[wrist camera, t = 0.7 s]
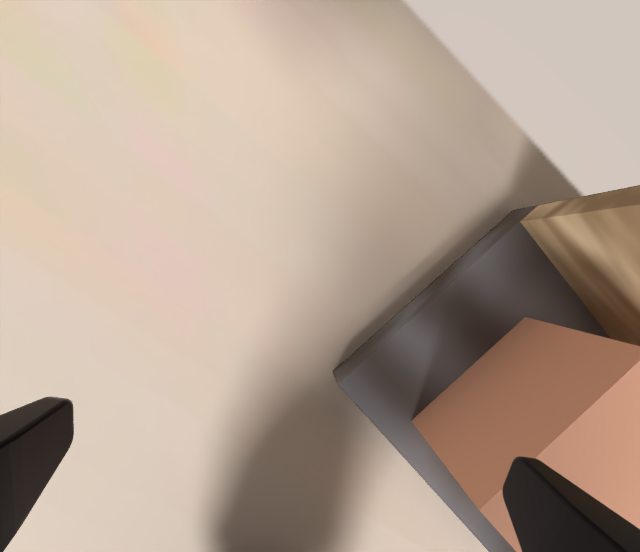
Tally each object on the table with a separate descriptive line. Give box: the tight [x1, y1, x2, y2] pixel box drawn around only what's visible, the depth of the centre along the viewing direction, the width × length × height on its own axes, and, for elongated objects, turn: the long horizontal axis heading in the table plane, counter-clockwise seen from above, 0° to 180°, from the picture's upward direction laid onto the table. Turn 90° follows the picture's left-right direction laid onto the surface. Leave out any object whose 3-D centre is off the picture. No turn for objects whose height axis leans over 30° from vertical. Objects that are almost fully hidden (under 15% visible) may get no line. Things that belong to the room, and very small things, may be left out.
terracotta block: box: [412, 317, 640, 552], centre depth 19 cm, size 10×8×8 cm
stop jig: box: [333, 185, 640, 552], centre depth 21 cm, size 17×18×10 cm
